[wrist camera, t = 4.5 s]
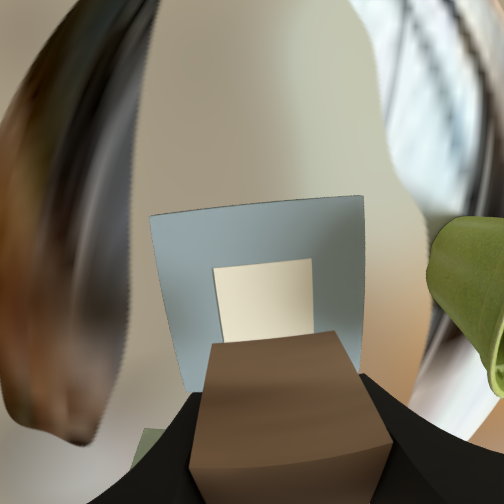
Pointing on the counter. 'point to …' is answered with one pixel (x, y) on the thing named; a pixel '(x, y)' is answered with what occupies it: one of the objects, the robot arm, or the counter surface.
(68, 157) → the counter surface
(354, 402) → the walnut block
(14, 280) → the counter surface
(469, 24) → the counter surface
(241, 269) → the board
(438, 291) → the plant pot
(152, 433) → the sage block
